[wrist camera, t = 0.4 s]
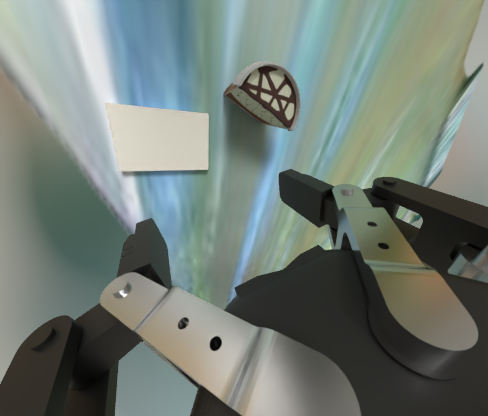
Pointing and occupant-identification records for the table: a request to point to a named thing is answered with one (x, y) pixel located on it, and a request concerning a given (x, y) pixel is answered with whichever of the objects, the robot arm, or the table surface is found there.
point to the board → (158, 138)
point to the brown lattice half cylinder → (267, 94)
